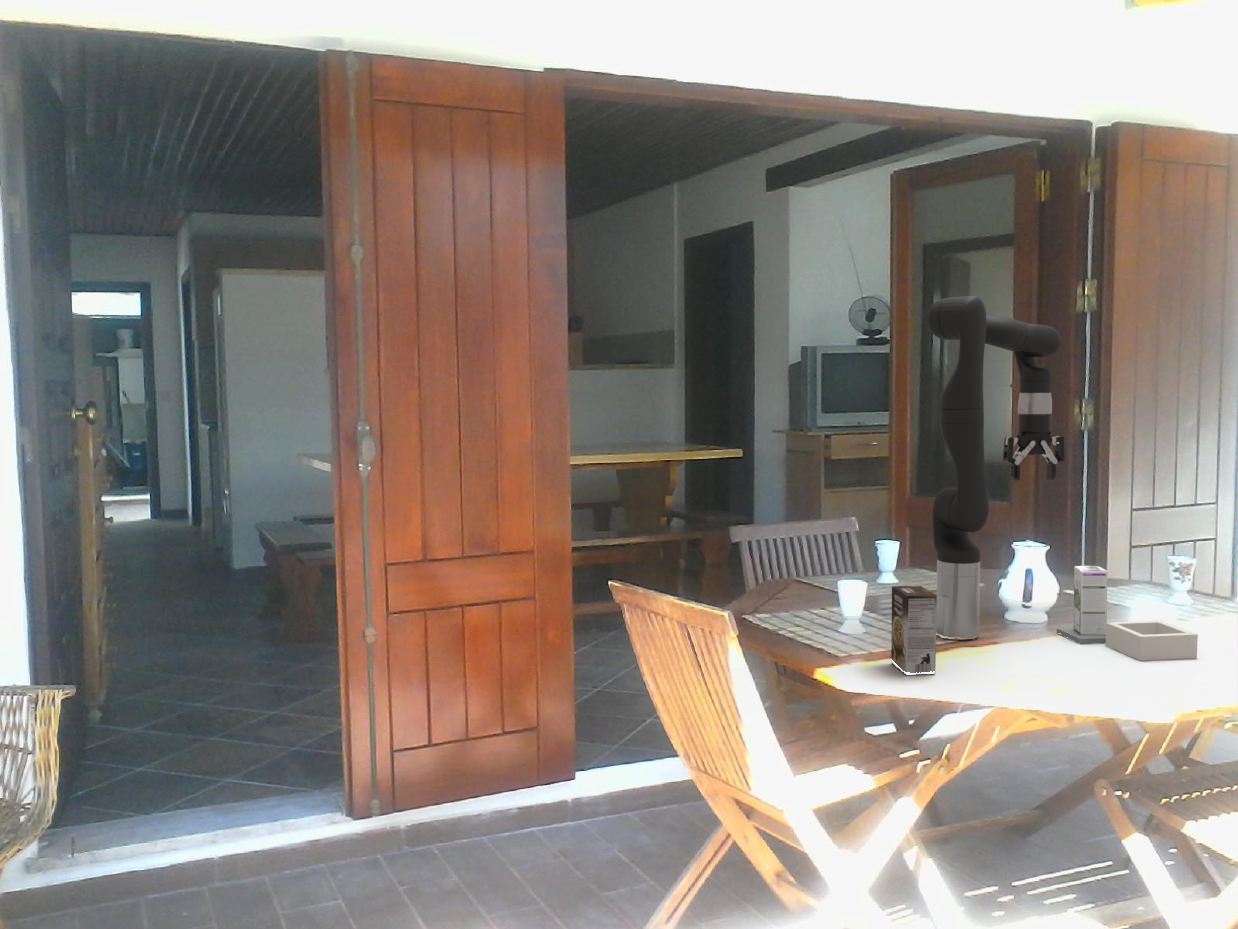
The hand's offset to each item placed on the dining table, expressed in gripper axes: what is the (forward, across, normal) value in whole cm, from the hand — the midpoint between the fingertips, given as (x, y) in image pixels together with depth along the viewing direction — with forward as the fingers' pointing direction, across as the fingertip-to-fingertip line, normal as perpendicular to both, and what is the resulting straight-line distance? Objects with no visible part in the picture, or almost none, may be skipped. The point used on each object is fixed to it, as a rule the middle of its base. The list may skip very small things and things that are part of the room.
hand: (1033, 480), depth 258 cm
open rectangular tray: (+33, +9, -34) cm, 48 cm away
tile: (+33, +3, -21) cm, 39 cm away
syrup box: (+32, +3, -21) cm, 38 cm away
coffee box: (+33, -45, -39) cm, 68 cm away
